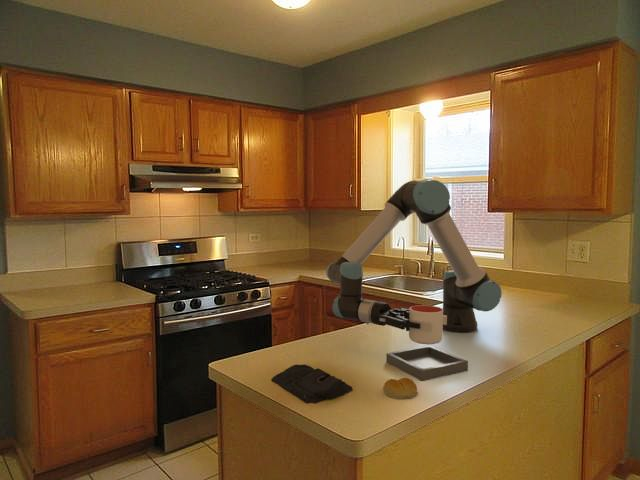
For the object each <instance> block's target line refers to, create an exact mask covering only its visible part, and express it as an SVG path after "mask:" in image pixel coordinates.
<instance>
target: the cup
mask: <svg viewBox="0 0 640 480" xmlns="http://www.w3.org/2000/svg"><path fill="white" fill-rule="evenodd" d="M409 309H410V313H409V320H410V322H411V319H414V320H419V321H425V322H431V323H432V332H426V331H421V330H416V329H411V327H410V331H408V338H409V340H411V341H412V342H414V343H416V344H419V345H426V346H428V345H430V346H431V345H436V344H439V343H441V341H442V340H443V332H444V331H443V330H444V329H443V307H439V306H435V305H425V304H423V305H412V306H410V307H409Z"/></svg>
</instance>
